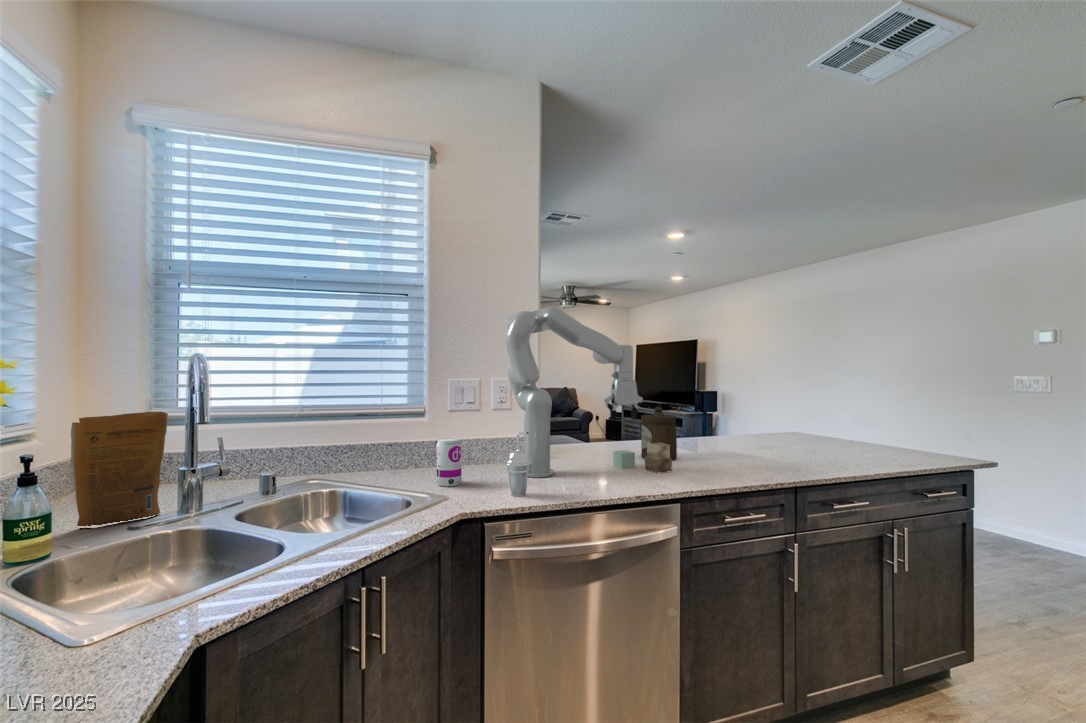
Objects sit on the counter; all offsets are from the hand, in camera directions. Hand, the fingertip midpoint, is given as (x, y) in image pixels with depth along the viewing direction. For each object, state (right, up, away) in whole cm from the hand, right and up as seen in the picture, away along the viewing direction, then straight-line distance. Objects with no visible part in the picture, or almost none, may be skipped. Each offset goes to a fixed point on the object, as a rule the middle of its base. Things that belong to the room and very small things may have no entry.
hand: (624, 419), depth 192 cm
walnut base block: (+12, -19, -7) cm, 23 cm away
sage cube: (0, -19, 0) cm, 19 cm away
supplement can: (-64, -19, -27) cm, 72 cm away
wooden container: (+18, -19, +18) cm, 32 cm away
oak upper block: (+12, -14, -7) cm, 19 cm away
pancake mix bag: (-140, -19, -67) cm, 156 cm away
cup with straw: (-39, -18, -41) cm, 60 cm away
